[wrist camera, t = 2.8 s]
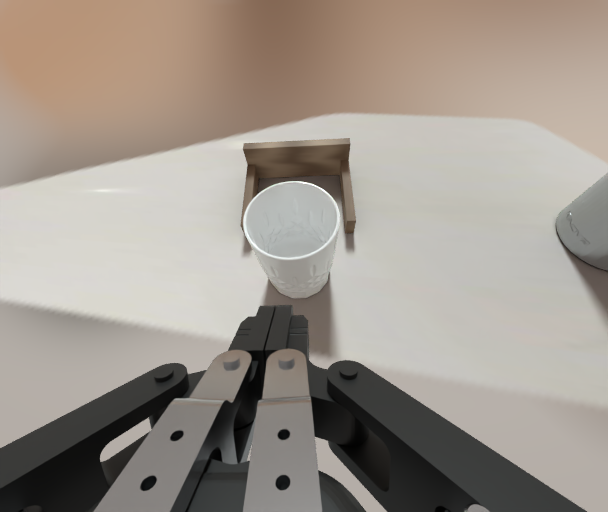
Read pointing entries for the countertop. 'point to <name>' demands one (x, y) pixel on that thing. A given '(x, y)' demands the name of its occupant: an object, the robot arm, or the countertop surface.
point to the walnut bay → (300, 167)
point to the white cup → (293, 235)
